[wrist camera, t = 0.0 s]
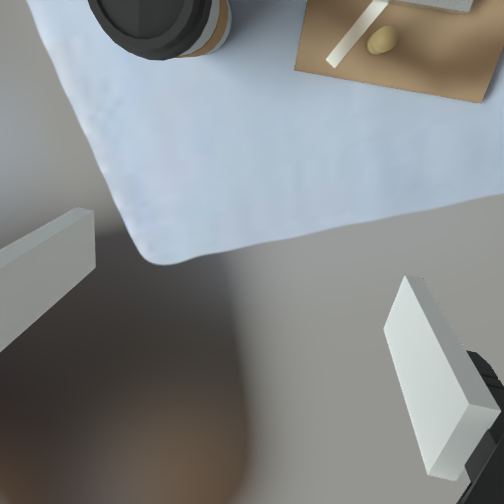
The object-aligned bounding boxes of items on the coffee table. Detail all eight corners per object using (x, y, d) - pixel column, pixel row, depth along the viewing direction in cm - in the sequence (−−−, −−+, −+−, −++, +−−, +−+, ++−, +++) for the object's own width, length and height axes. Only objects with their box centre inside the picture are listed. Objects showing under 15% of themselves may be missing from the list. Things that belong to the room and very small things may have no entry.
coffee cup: (249, -25, 34) (212, -92, 21) (235, 73, 38) (196, 70, 25) (163, -41, 35) (71, -117, 21) (157, 57, 38) (76, 46, 25)
